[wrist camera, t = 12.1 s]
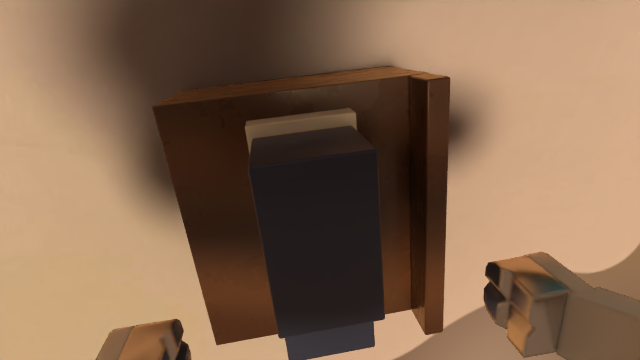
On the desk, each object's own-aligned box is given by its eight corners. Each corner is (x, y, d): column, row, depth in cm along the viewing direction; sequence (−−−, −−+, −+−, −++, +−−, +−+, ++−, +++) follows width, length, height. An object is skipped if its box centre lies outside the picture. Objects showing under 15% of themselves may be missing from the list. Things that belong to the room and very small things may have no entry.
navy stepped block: (246, 120, 16) (237, 152, 11) (349, 107, 16) (383, 133, 11) (281, 320, 20) (286, 405, 15) (363, 305, 20) (393, 383, 15)
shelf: (181, 90, 20) (135, 115, 13) (389, 65, 21) (451, 76, 14) (226, 282, 25) (210, 377, 18) (395, 254, 26) (443, 332, 19)
